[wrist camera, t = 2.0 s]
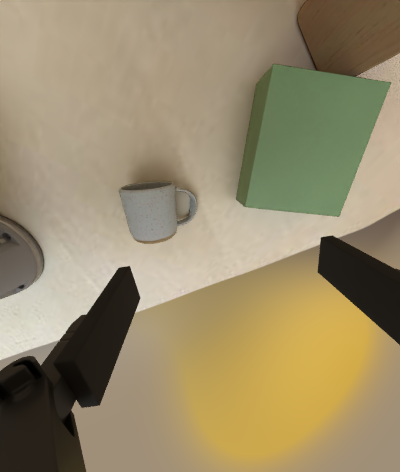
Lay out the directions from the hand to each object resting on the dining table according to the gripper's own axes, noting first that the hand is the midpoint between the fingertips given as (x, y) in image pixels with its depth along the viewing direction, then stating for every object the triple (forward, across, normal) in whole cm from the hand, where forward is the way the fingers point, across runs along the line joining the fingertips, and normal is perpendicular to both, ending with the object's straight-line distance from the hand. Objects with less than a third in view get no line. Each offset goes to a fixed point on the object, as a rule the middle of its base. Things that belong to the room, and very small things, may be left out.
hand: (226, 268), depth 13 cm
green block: (+20, +14, +6) cm, 26 cm away
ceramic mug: (+21, -7, +1) cm, 22 cm away
